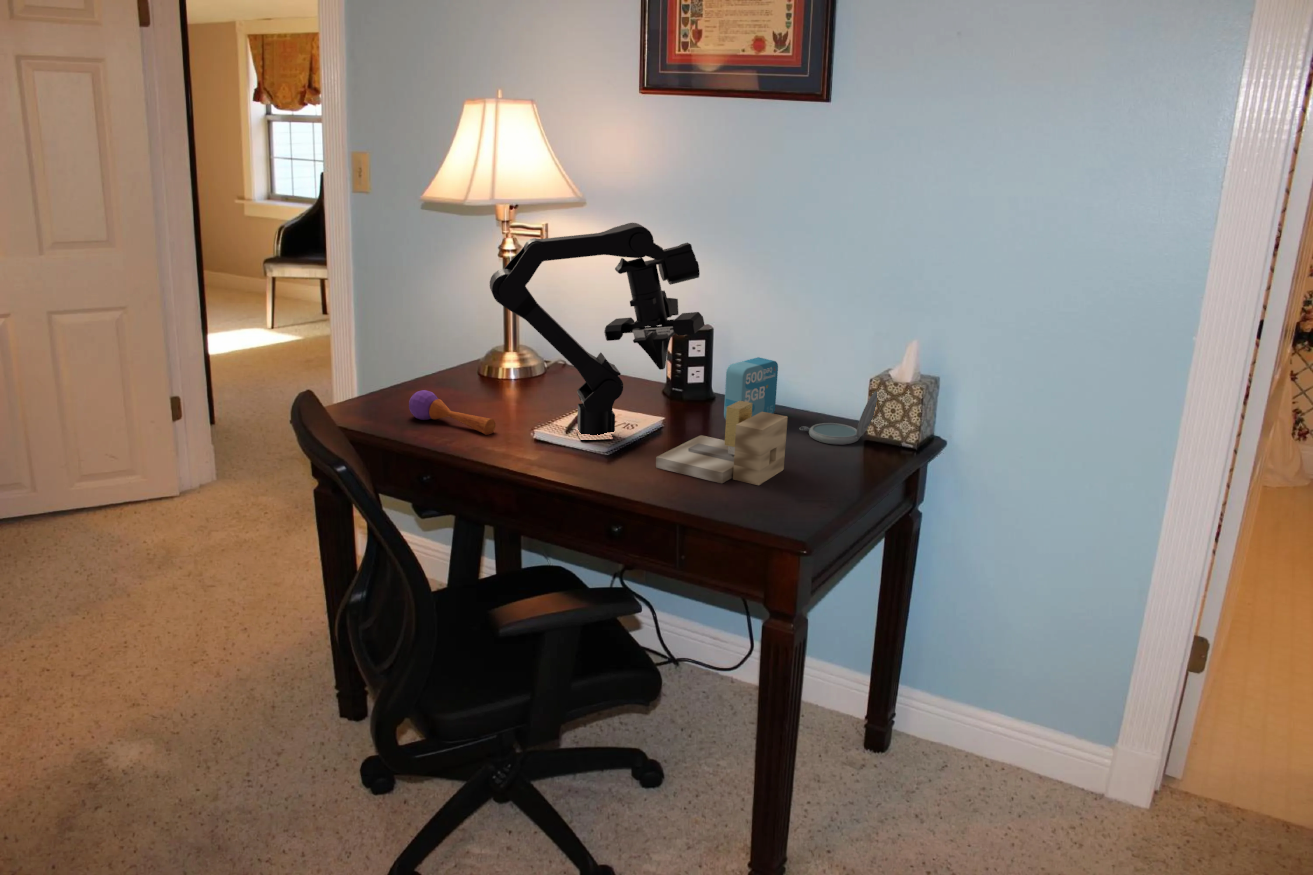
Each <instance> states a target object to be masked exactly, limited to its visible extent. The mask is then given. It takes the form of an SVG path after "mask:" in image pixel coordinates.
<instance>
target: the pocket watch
mask: <svg viewBox="0 0 1313 875" xmlns="http://www.w3.org/2000/svg"><path fill="white" fill-rule="evenodd" d="M876 402H877V392H876V390H875V391H874V392H873V393H872V395H871V396H870V398H869V399H868V401H867V403H866V404H865V406H864V408H863V411H862V413H861V415H860V418H859V421H858V424H857V427H853V426H851V425H849V424H848V425H847V424H844V423H836V422H835V423H834V422H823V423H816V424H814V425H812V426H811V427H809V426H805V425H804V426H801V427H799V430H800V431H804V432H808V434H809V436H810V437H811V438H812V439H813V440H815V441H817V442H820V443H822V444H828V445H836V446H837V445H850V444H854V443H856V442H858V441H859V439H860V437H862V436H863V435H865V433H866V431H867V430H868V428H869V427H870V425H869V424H871V423H872V422H871V420H872V418H873V415H874V411H875V407H876ZM874 416H875V415H874ZM873 419H874V418H873ZM872 421H873V420H872ZM870 422H871V423H870ZM868 426H869V427H868Z"/></svg>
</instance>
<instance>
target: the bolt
mask: <svg viewBox="0 0 1313 875" xmlns="http://www.w3.org/2000/svg"><path fill="white" fill-rule="evenodd" d="M750 417H752V403H749V402H744V401H738V402H736V403H734V404H732V405H730V406H727V410H726V419H725V428H724V429H725V430H724V432H725V433H724V440H725V445H727V446H728V454H733V455H734V453H735V436H736V425H737V424H739V423H740V422H742V421H744V420H746V419H748V418H750Z"/></svg>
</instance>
